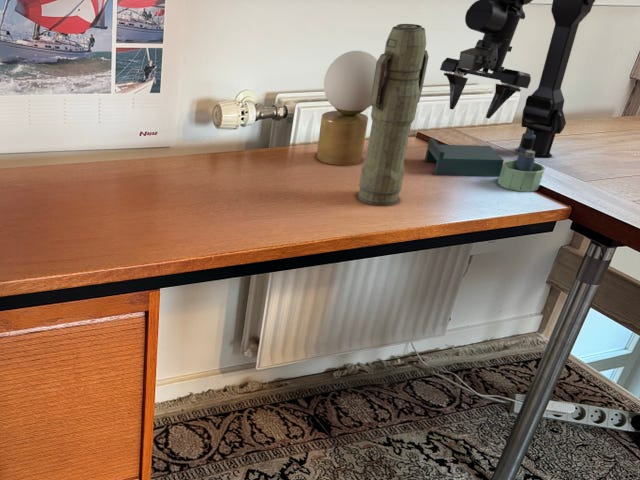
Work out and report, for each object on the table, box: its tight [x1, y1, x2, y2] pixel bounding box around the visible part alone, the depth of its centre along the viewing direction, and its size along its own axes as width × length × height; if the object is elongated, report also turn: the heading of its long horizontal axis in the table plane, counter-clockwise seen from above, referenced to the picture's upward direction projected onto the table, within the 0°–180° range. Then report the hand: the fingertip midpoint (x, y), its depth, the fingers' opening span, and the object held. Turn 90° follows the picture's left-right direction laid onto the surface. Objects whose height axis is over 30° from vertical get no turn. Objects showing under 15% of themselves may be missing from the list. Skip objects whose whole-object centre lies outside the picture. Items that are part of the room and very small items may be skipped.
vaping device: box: [515, 130, 536, 172], centre depth 158 cm, size 3×5×12 cm, turn 175°
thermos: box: [357, 23, 430, 206], centre depth 145 cm, size 9×12×35 cm
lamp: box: [316, 50, 378, 166], centre depth 172 cm, size 15×14×25 cm
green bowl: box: [497, 159, 546, 193], centre depth 160 cm, size 9×9×4 cm
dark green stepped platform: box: [424, 138, 505, 177], centre depth 169 cm, size 15×11×6 cm
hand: (469, 113), depth 155 cm, fingers open, 9 cm apart
